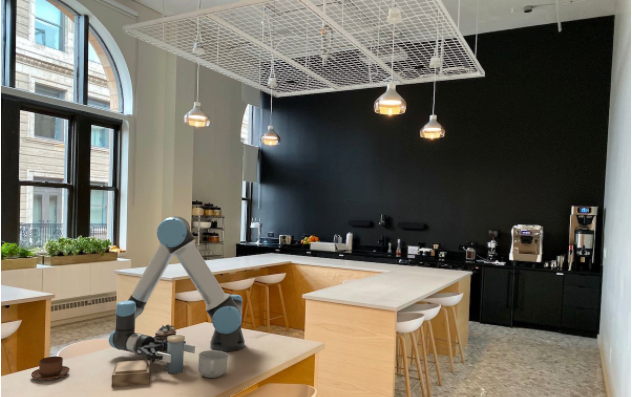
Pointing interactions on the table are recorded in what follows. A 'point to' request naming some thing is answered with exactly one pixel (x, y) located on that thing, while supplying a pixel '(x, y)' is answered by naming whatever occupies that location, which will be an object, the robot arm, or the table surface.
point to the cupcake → (164, 333)
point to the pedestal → (131, 373)
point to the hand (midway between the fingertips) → (182, 354)
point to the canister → (175, 353)
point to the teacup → (212, 363)
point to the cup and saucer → (50, 369)
